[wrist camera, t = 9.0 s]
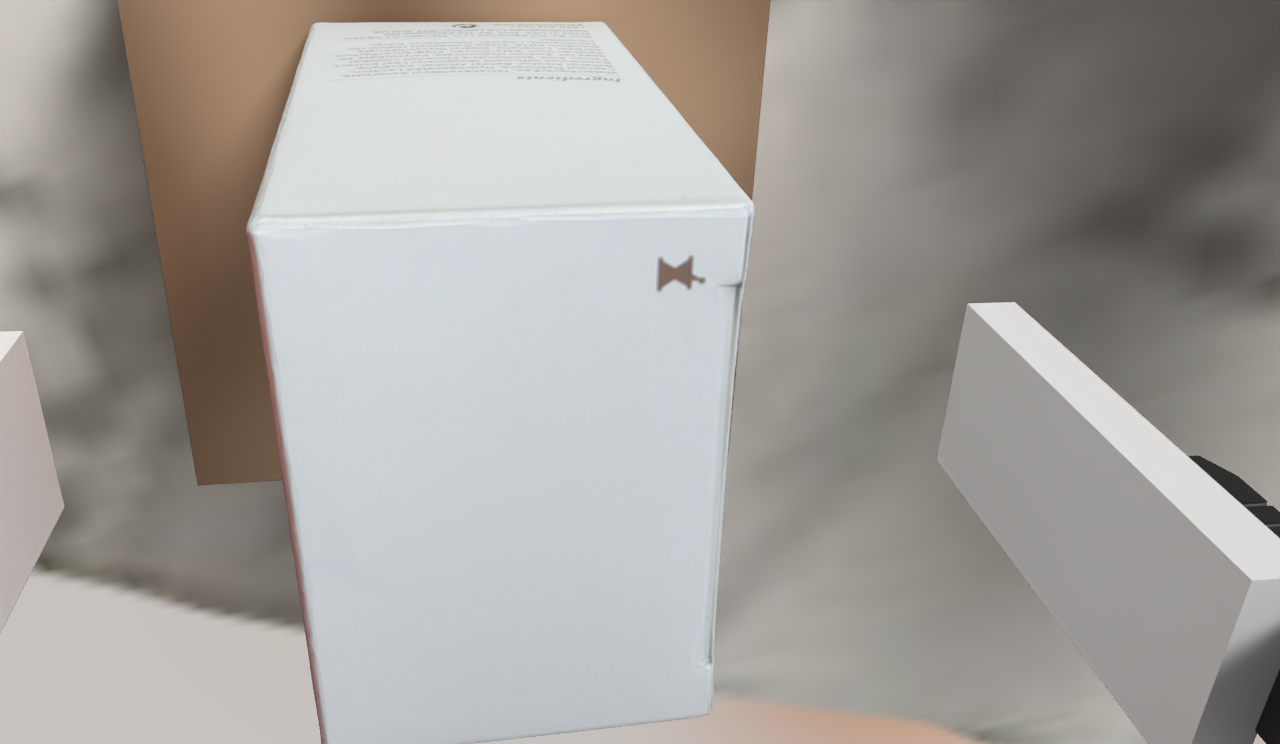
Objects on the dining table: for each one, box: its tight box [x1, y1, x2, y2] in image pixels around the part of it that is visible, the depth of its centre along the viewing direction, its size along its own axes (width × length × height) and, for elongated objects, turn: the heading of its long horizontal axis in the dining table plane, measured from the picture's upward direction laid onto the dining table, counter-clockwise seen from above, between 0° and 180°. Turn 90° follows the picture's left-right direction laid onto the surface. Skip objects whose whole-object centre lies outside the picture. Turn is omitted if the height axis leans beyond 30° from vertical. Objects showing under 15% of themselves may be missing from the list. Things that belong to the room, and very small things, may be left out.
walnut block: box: [117, 0, 770, 485], centre depth 25 cm, size 12×12×5 cm
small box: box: [246, 22, 755, 744], centre depth 18 cm, size 8×6×10 cm
